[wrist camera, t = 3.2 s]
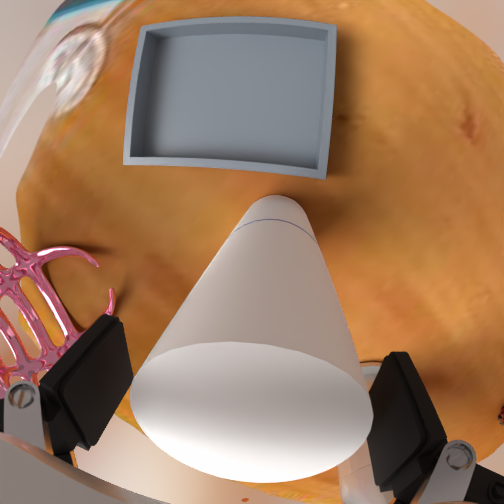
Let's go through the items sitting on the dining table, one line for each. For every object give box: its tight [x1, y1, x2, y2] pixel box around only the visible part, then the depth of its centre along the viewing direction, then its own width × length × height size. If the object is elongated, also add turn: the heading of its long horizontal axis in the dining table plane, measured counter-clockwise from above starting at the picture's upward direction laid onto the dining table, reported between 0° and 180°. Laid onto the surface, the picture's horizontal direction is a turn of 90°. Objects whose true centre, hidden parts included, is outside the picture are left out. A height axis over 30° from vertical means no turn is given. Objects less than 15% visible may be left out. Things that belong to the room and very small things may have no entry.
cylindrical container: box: [130, 195, 373, 483], centre depth 19 cm, size 7×7×25 cm
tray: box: [123, 16, 337, 180], centre depth 24 cm, size 20×16×4 cm
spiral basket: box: [0, 227, 116, 399], centre depth 24 cm, size 28×28×27 cm
